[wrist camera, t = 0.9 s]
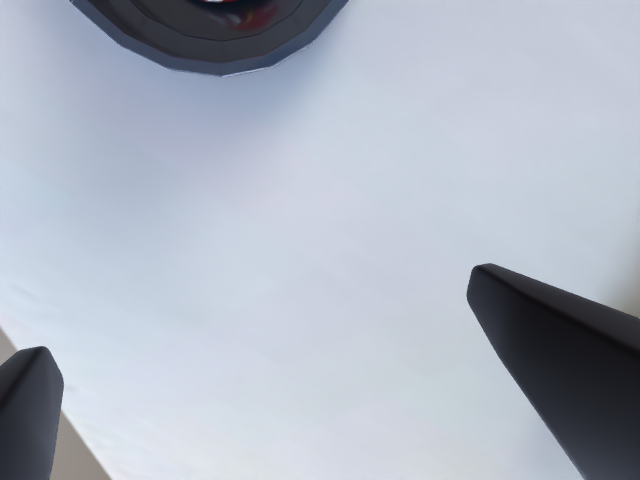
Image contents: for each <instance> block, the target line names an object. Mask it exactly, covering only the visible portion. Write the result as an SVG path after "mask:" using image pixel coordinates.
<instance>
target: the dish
mask: <svg viewBox="0 0 640 480" xmlns="http://www.w3.org/2000/svg"><path fill="white" fill-rule="evenodd" d="M69 1H70V2H71V3H72V4H73V5H74V6H75V7H76V8H77V9H78V10H80V11H81V12H82V13H83V14H84V15H85V16H86V17H88V18H89V19H90V20H91V21H92V22H93V23H94V24H96V25H97V26H98V27H99V28H100V29H101V30H102V31H104V32H105V33H106V34H107V35H108V36H109V37H110V38H112V39H113V40H114V41H115V42H116V43H117V44H119V45H120V46H122V47H124V48H126V49H128V50H130V51H132V52H134V53H136V54H138V55H140V56H143V57H145V58H147V59H149V60H151V61H153V62H155V63H157V64H159V65H161V66H163V67H165V68H167V69H171V70H174V71H181V72H188V73H195V74H202V75H209V76H216V77H228V76H235V75H241V74H246V73H251V72H256V71H261V70H266V69H271V68H272V67H275V66H277V65H279V64H280V63H282V62H284V61H286V60H287V59H289V58H291V57H292V56H294V55H296V54H297V53H299V52H301V51H302V50H304V49H306V48H307V47H309V46H310V45H311V44H312V43H313V42H314V41H315V40H316V38H317V37H318V36H319V35H320V34H321V33H322V31H323V30H324V29H325V28H326V27H327V26H328V24H329V23H330V22H331V21H332V20H333V19H334V17H335V16H336V15H337V14H338V13H339V12H340V10H341V9H342V8H343V7H344V6H345V5H346V3H347V2H348V0H237V1H233V2H223V3H217V2H206V1H202V0H69Z"/></svg>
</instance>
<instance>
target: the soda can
mask: <svg viewBox="0 0 640 480" xmlns="http://www.w3.org/2000/svg"><path fill="white" fill-rule="evenodd" d="M202 1H206V2H217V3H223V2H233V1H237V0H202Z"/></svg>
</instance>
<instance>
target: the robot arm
mask: <svg viewBox="0 0 640 480" xmlns="http://www.w3.org/2000/svg"><path fill="white" fill-rule="evenodd" d="M467 300H468V303H469V305H470V307H471V309H472V311H473V312H474V314H475V316H476V318H477V319H478V321H479V323H480V325H481V327H482V328H483V330H484V332H485V334H486V336H487V337H488V339H489V341H490V343H491V344H492V346H493V348H494V350H495V351H496V353H497V355H498V356H499V358H500V359H501V361H502V362H503V364H504V365H505V367H506V368H507V370H508V371H509V373H510V374H511V376H512V377H513V378H514V380H515V381H516V383H517V384H518V386H519V387H520V388H521V390H522V391H523V393H524V394H525V396H526V397H527V398H528V400H529V401H530V403H531V404H532V406H533V407H534V408H535V410H536V411H537V413H538V414H539V416H540V417H541V418H542V420H543V421H544V423H545V424H546V426H547V427H548V428H549V430H550V431H551V433H552V434H553V436H554V437H555V438H556V440H557V441H558V443H559V444H560V446H561V447H562V448H563V450H564V451H565V453H566V454H567V456H568V457H569V458H570V460H571V461H572V463H573V464H574V466H575V467H576V468H577V470H578V471H579V473H580V474H581V476H582V477H583V478H584V480H640V319H639V318H637V317H634V316H631V315H629V314H626V313H623V312H621V311H618V310H615V309H613V308H610V307H607V306H605V305H602V304H599V303H597V302H594V301H591V300H589V299H586V298H583V297H581V296H578V295H575V294H573V293H570V292H567V291H565V290H562V289H559V288H556V287H554V286H551V285H548V284H546V283H543V282H540V281H538V280H535V279H532V278H530V277H527V276H524V275H522V274H519V273H516V272H514V271H511V270H508V269H506V268H503V267H500V266H498V265H495V264H491V263H488V264H482V265H477V266H475V267H474V268H473V269H472V272H471V276H470V280H469V285H468V289H467ZM63 388H64V382H63V377H62V374H61V372H60V370H59V368H58V366H57V364H56V362H55V360H54V358H53V356H52V354H51V353H50V351H49V349H48V348H46V347H44V346H39V347H33V348H28V349H23V350H20V351H18V352H16V353H15V354H14V355H13V356H12V357H10V358H9V359H8V360H7V361H6V362H5V363H3V364H2V365H1V366H0V480H49V479H50V475H51V470H52V465H53V459H54V453H55V445H56V439H57V432H58V425H59V416H60V410H61V403H62V396H63Z"/></svg>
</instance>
